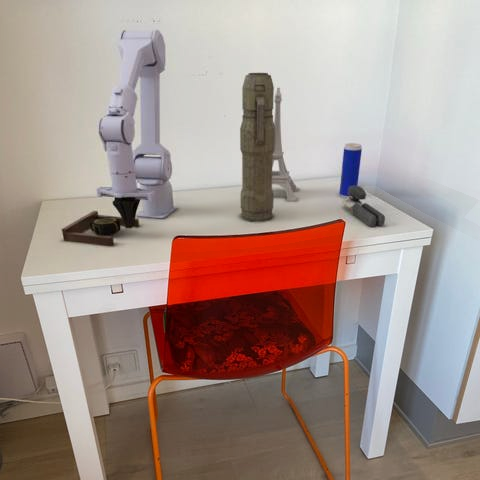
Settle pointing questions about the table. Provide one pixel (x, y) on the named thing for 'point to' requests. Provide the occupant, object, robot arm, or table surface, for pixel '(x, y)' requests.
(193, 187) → the table surface
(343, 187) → the beverage can
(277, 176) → the eiffel tower
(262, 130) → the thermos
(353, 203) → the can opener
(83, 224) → the walnut frame
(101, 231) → the tape measure
